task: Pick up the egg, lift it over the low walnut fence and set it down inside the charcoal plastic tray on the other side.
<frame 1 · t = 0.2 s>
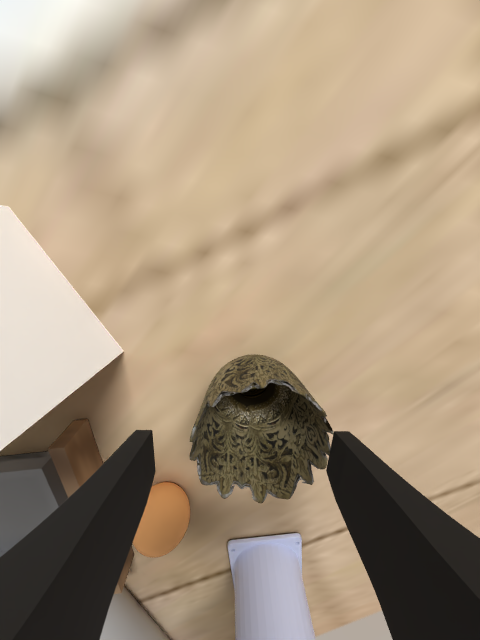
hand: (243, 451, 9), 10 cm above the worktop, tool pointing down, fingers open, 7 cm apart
fence: (107, 495, 23), on the worktop
milk: (13, 323, 17), on the worktop
tray: (15, 504, 22), on the worktop
cup: (249, 370, 19), on the worktop
egg: (161, 516, 20), point 2 cm above the worktop
tube: (139, 609, 29), on the worktop
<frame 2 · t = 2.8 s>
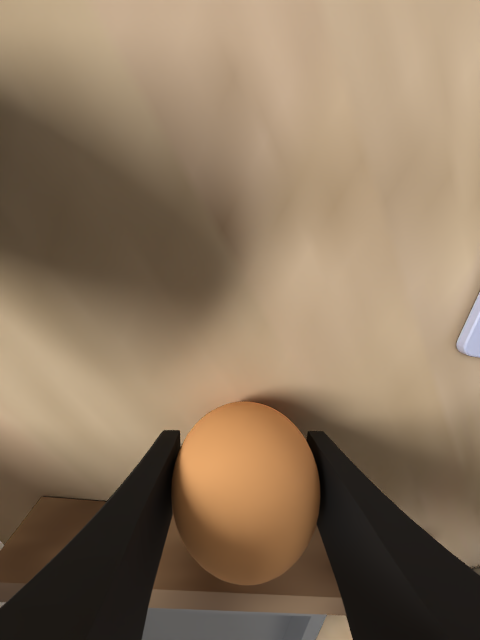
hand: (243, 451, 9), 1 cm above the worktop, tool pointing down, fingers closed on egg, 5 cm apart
fence: (223, 518, 12), on the worktop
tray: (202, 618, 15), on the worktop
egg: (245, 476, 8), point 2 cm above the worktop, touching gripper
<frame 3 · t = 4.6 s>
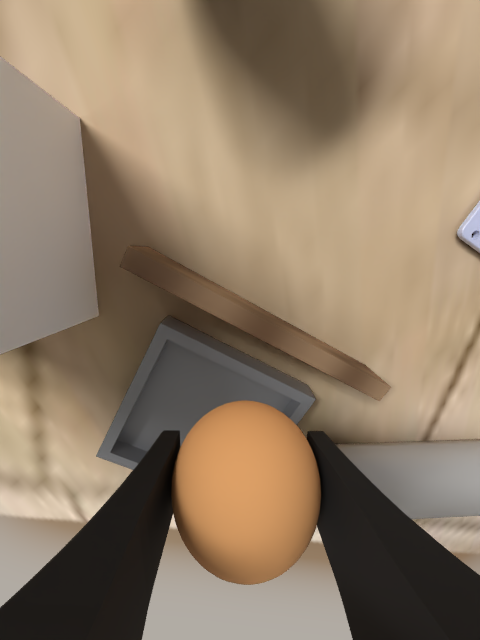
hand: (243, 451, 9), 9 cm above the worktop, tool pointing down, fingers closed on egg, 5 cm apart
fence: (262, 318, 16), on the worktop
tray: (205, 411, 19), on the worktop
egg: (245, 475, 8), point 10 cm above the worktop, touching gripper
tube: (439, 447, 21), on the worktop
when the fingers open (3 cm above the worktop, at t = 6.8 s): egg drops 1 cm, resting on tray.
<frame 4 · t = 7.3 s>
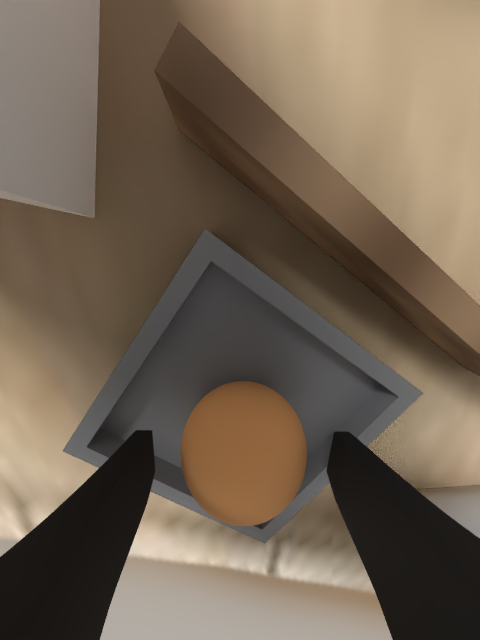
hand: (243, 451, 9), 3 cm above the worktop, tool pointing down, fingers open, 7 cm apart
fence: (355, 258, 10), on the worktop
tray: (240, 398, 12), on the worktop
egg: (243, 444, 9), point 3 cm above the worktop, touching tray
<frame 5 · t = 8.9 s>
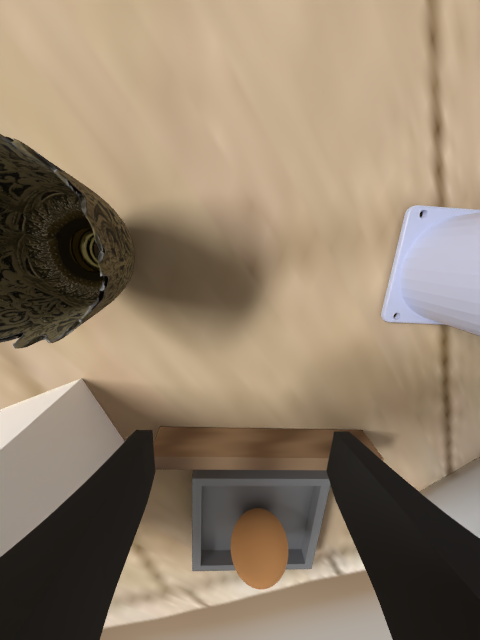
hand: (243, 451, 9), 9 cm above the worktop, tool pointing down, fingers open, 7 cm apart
fence: (263, 434, 20), on the worktop
milk: (59, 452, 20), on the worktop
tray: (255, 507, 23), on the worktop
cup: (107, 250, 16), on the worktop
egg: (259, 545, 20), point 3 cm above the worktop, touching tray
tube: (469, 465, 23), on the worktop
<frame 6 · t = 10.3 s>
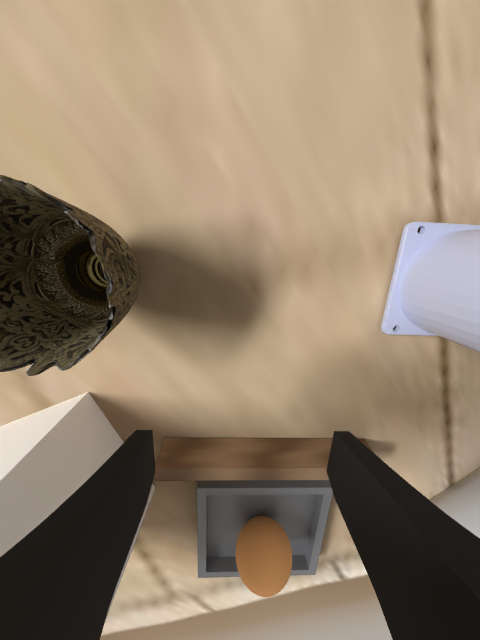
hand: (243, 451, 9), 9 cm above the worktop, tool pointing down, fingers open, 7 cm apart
fence: (266, 443, 21), on the worktop
milk: (66, 463, 21), on the worktop
tray: (259, 514, 23), on the worktop
cup: (112, 269, 16), on the worktop
egg: (263, 552, 20), point 3 cm above the worktop, touching tray
tube: (472, 474, 24), on the worktop
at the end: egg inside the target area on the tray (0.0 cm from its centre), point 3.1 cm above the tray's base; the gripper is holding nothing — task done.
